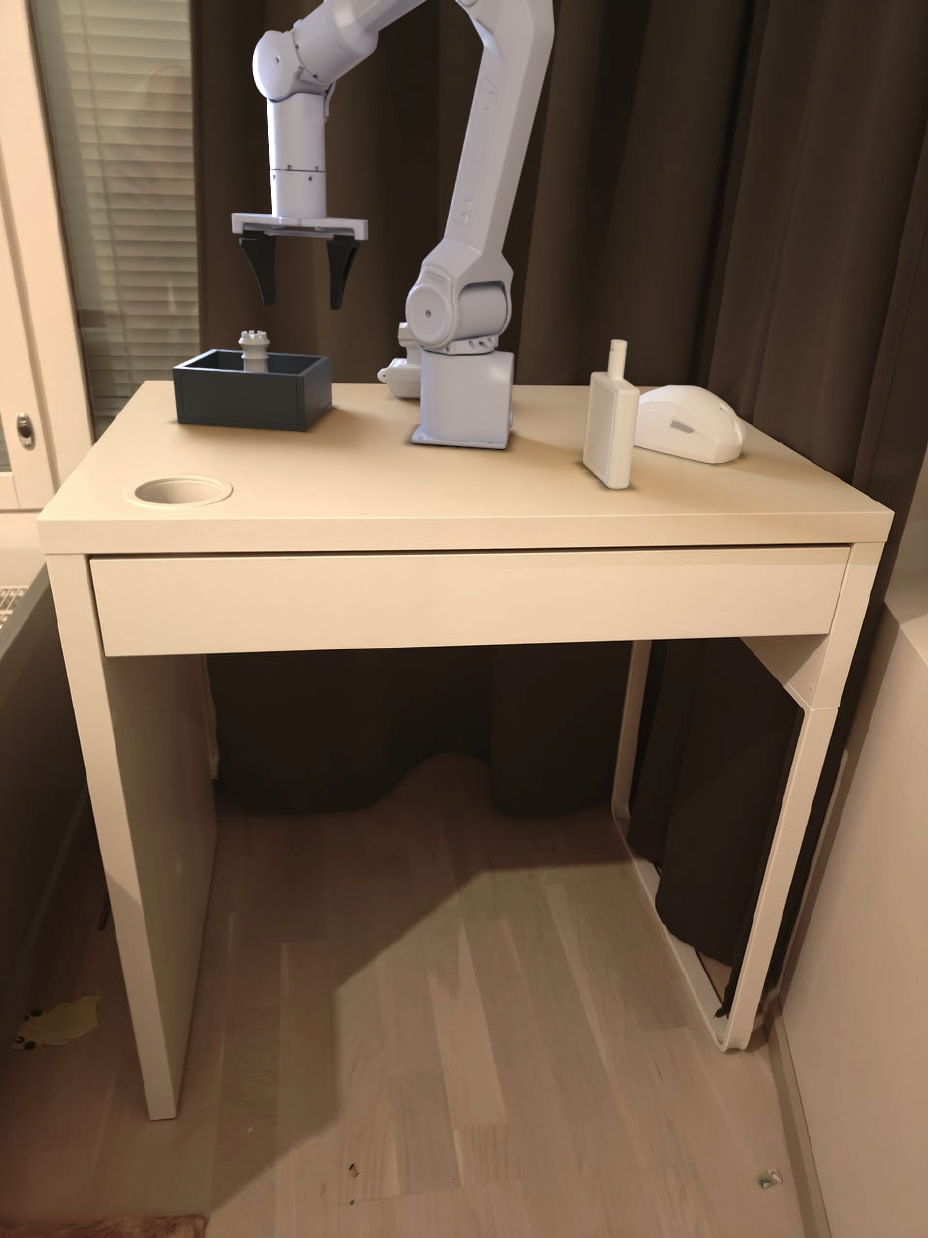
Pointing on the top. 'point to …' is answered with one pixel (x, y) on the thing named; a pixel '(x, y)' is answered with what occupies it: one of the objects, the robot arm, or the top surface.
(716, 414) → the computer mouse
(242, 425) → the storage bin
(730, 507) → the top surface
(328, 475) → the top surface
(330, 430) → the top surface
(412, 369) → the white mechanical part
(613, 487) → the perfume bottle
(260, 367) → the rook chess piece
